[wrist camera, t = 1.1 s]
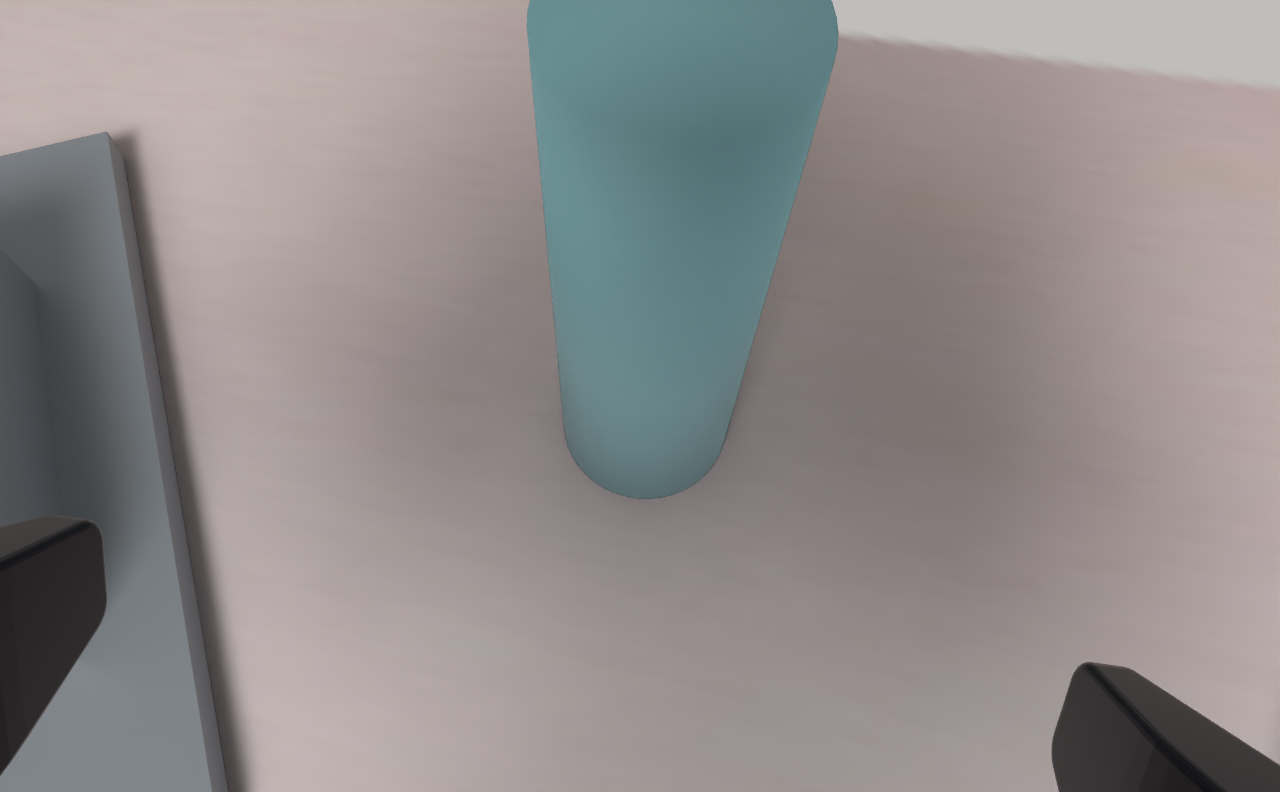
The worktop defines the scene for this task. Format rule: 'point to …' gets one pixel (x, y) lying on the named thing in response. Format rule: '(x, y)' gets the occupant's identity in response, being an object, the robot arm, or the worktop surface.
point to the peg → (667, 211)
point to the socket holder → (99, 478)
